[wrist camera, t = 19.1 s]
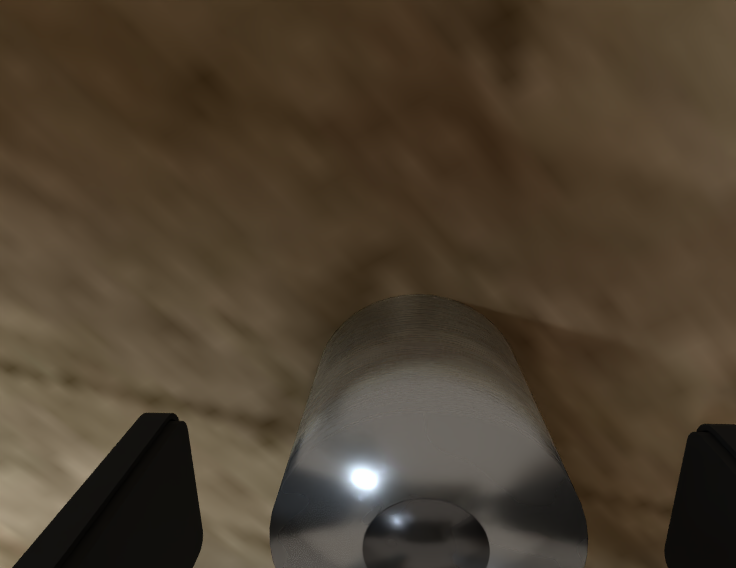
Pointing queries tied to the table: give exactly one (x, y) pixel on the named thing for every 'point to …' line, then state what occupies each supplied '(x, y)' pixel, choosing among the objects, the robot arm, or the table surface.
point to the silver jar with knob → (424, 452)
